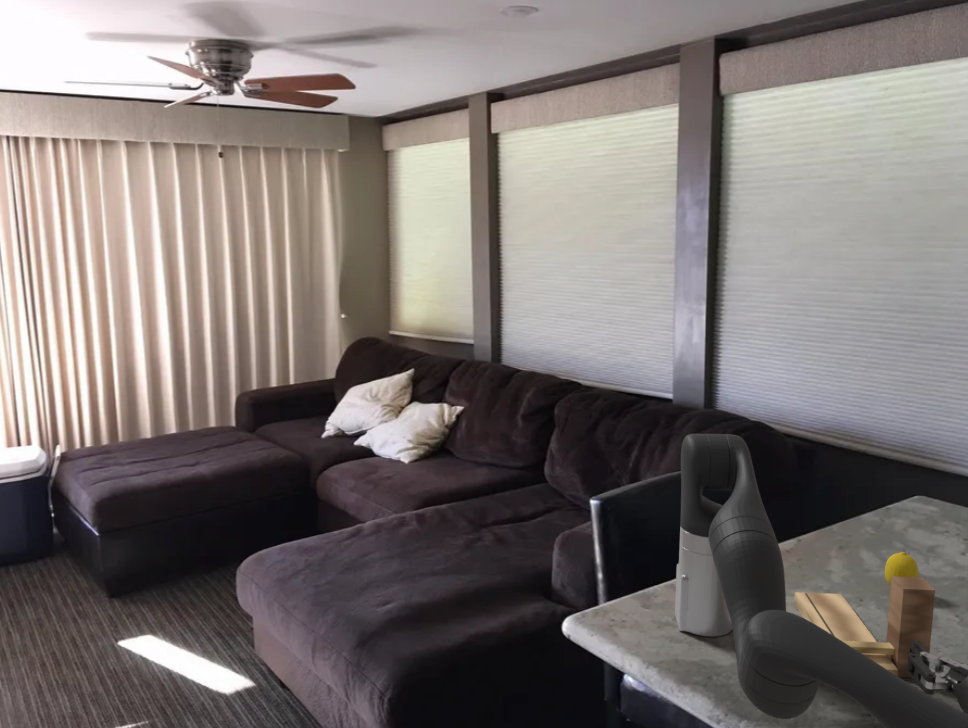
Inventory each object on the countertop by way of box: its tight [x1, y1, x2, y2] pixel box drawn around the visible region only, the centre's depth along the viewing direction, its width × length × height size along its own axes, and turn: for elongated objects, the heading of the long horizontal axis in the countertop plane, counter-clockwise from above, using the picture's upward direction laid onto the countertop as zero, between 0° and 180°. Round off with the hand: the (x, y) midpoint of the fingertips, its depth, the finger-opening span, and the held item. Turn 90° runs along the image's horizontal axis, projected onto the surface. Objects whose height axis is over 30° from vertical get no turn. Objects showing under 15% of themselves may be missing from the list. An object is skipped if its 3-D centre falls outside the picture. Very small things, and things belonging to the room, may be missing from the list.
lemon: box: [884, 551, 919, 587], centre depth 153 cm, size 6×6×8 cm
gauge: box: [843, 576, 936, 678], centre depth 126 cm, size 12×4×14 cm, turn 84°
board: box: [794, 591, 898, 676], centre depth 136 cm, size 8×26×2 cm, turn 174°
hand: (947, 647), depth 114 cm, fingers open, 8 cm apart
